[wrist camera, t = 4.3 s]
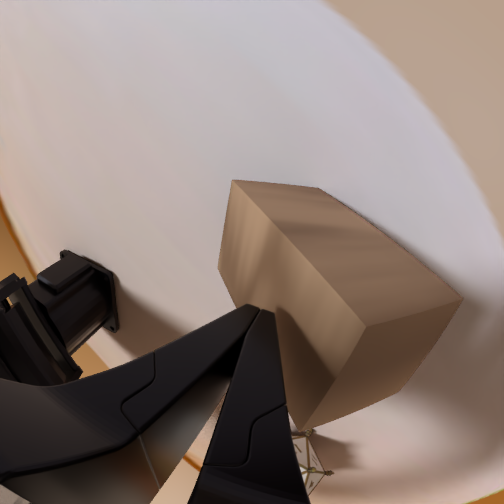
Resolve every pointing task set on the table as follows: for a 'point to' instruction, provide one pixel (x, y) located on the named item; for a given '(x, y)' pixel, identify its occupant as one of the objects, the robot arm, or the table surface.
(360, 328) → the brown rectangular block
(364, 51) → the table surface
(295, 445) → the game die
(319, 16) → the table surface
